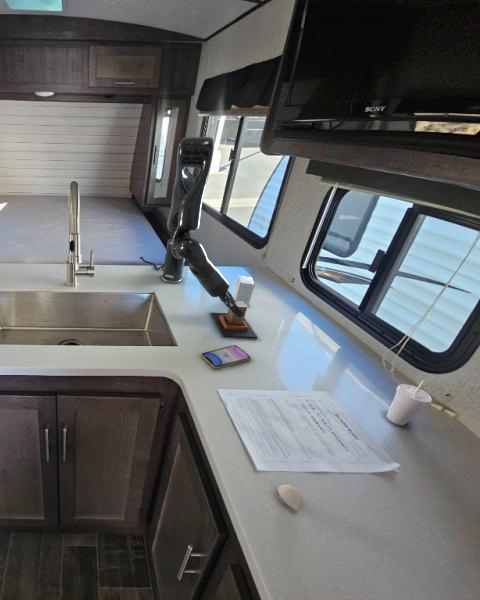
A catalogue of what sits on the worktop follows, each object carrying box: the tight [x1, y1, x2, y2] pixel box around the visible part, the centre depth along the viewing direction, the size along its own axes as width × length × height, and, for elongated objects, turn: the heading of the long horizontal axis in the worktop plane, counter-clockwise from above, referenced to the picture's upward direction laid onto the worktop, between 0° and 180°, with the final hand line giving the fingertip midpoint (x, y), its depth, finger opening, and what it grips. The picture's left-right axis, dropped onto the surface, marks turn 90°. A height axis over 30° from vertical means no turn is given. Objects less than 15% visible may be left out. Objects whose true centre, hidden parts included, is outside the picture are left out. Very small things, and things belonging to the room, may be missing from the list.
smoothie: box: [386, 379, 433, 426], centre depth 81 cm, size 6×6×14 cm
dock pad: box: [210, 312, 258, 340], centre depth 122 cm, size 16×12×2 cm
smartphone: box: [200, 344, 252, 369], centre depth 105 cm, size 8×15×1 cm, turn 110°
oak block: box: [226, 301, 248, 324], centre depth 120 cm, size 4×4×8 cm
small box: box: [232, 275, 255, 307], centre depth 137 cm, size 8×6×10 cm
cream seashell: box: [276, 484, 302, 512], centre depth 65 cm, size 4×5×2 cm
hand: (238, 311), depth 119 cm, fingers closed on oak block, 4 cm apart
